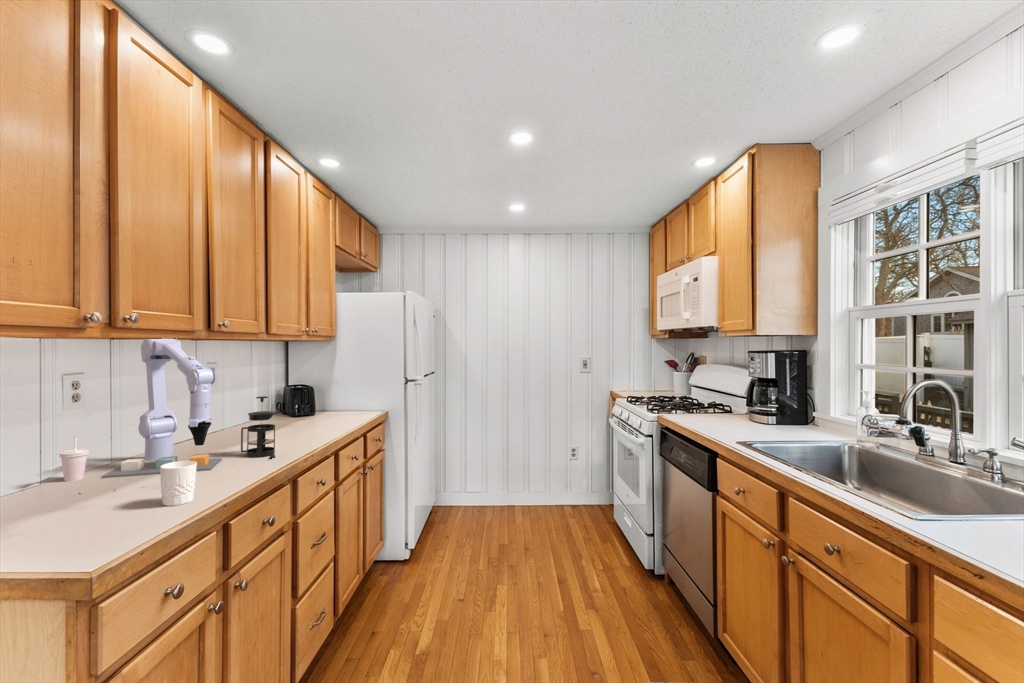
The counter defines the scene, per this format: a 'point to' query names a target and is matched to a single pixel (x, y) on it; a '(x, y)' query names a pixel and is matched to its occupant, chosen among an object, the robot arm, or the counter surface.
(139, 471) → the button panel
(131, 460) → the white button
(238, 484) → the counter surface
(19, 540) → the counter surface
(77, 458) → the smoothie
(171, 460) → the teal button
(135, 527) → the counter surface
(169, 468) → the white cup
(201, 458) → the orange button
